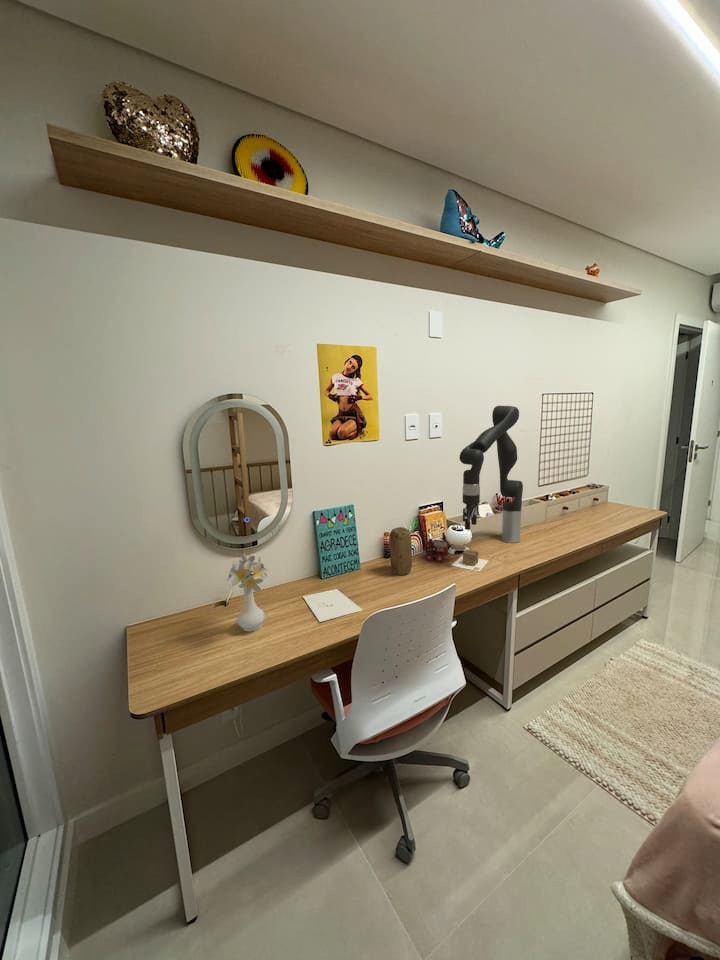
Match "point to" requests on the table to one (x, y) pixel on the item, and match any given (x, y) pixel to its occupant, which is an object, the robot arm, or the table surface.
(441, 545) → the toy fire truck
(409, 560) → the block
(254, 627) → the flower vase
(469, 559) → the cube
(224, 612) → the table surface
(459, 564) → the letter
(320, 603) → the paper sheet
